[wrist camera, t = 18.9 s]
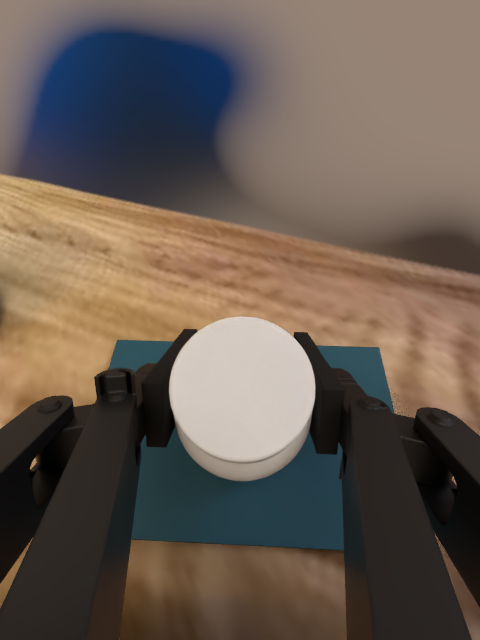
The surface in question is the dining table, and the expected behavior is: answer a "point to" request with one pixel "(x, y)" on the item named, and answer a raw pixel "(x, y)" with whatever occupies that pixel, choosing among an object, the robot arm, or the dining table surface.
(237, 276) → the dining table surface
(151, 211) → the dining table surface
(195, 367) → the pill bottle
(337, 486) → the mat
